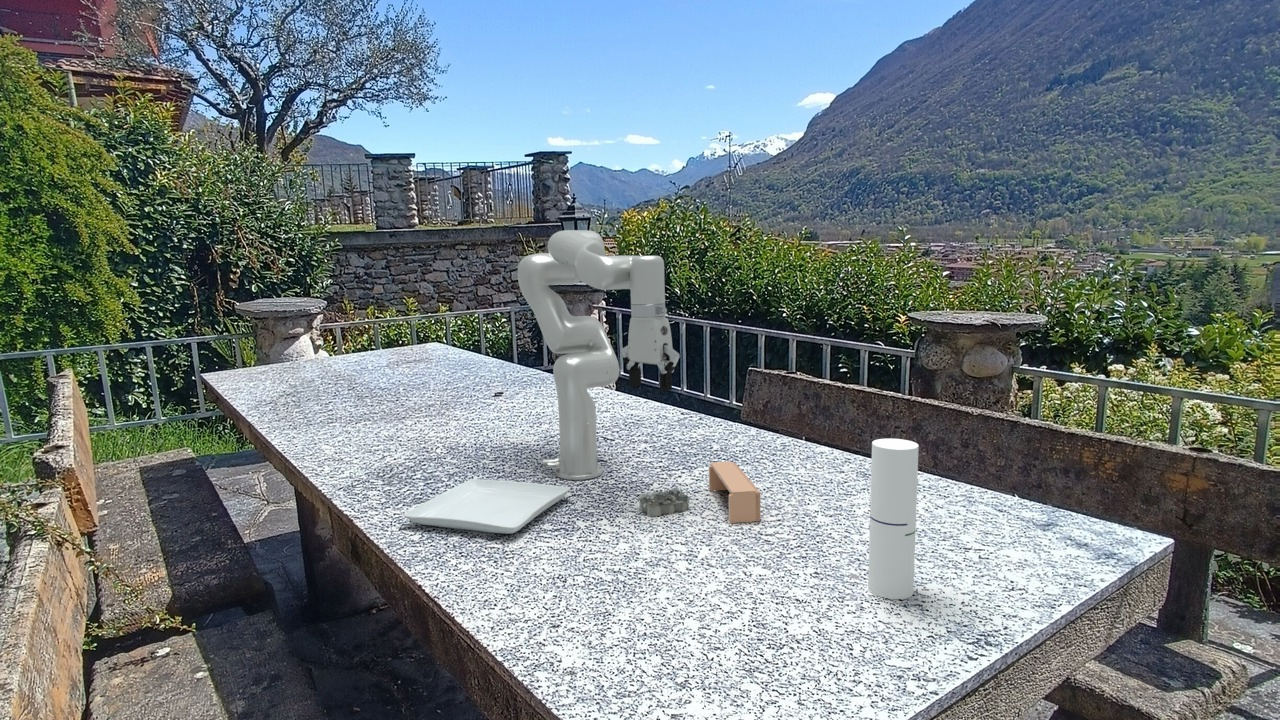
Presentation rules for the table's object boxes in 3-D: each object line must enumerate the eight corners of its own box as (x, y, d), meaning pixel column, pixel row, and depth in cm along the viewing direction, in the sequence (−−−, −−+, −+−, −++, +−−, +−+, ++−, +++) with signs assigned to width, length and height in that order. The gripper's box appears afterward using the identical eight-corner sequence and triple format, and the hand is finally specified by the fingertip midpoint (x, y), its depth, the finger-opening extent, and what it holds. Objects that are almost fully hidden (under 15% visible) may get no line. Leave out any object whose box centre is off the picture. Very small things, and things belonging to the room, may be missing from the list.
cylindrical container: (861, 581, 126) (865, 439, 122) (901, 579, 126) (906, 437, 123) (878, 600, 119) (882, 450, 115) (921, 598, 119) (926, 448, 116)
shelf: (730, 523, 154) (729, 492, 153) (708, 490, 176) (708, 462, 175) (760, 521, 155) (760, 490, 154) (735, 488, 177) (735, 461, 176)
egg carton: (650, 519, 158) (649, 501, 157) (635, 509, 165) (635, 491, 164) (693, 511, 162) (693, 493, 162) (677, 501, 169) (677, 484, 168)
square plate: (573, 501, 171) (572, 484, 171) (516, 545, 146) (515, 526, 145) (471, 491, 180) (471, 475, 179) (401, 530, 154) (400, 513, 154)
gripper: (688, 312, 158) (690, 390, 161) (633, 310, 171) (635, 382, 173) (664, 314, 153) (666, 395, 155) (609, 312, 166) (612, 387, 168)
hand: (650, 388), depth 164 cm, fingers open, 9 cm apart
